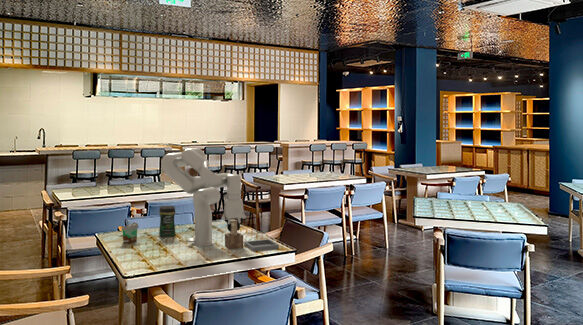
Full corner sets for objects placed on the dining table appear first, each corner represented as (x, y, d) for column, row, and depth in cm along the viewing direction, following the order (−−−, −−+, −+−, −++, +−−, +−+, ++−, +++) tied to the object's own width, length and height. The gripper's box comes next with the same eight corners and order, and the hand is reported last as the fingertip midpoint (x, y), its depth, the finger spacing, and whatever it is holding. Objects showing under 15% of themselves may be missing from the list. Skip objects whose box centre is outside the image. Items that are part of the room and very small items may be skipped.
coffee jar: (159, 237, 282) (158, 207, 281) (159, 234, 290) (158, 205, 288) (175, 236, 285) (175, 206, 283) (175, 234, 292) (175, 204, 291)
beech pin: (231, 247, 254) (231, 221, 253) (228, 245, 258) (229, 220, 257) (238, 246, 256) (238, 221, 255) (235, 244, 259) (236, 219, 258)
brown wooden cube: (229, 251, 252) (229, 236, 251) (224, 247, 259) (224, 233, 258) (243, 249, 255) (243, 235, 254) (238, 246, 262) (238, 232, 262)
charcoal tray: (252, 252, 249) (252, 247, 248) (244, 246, 261) (244, 241, 261) (278, 250, 255) (278, 244, 254) (269, 244, 267) (269, 239, 267)
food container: (131, 244, 266) (131, 226, 265) (121, 243, 267) (121, 226, 266) (142, 239, 278) (142, 222, 277) (133, 238, 279) (133, 222, 278)
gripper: (220, 198, 248) (220, 233, 249) (250, 197, 255) (250, 230, 256) (216, 196, 255) (216, 230, 256) (246, 195, 262) (245, 227, 263)
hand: (233, 230), depth 256 cm, fingers closed on beech pin, 4 cm apart
